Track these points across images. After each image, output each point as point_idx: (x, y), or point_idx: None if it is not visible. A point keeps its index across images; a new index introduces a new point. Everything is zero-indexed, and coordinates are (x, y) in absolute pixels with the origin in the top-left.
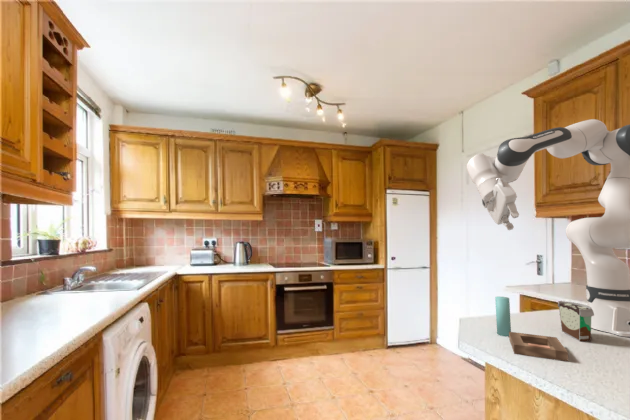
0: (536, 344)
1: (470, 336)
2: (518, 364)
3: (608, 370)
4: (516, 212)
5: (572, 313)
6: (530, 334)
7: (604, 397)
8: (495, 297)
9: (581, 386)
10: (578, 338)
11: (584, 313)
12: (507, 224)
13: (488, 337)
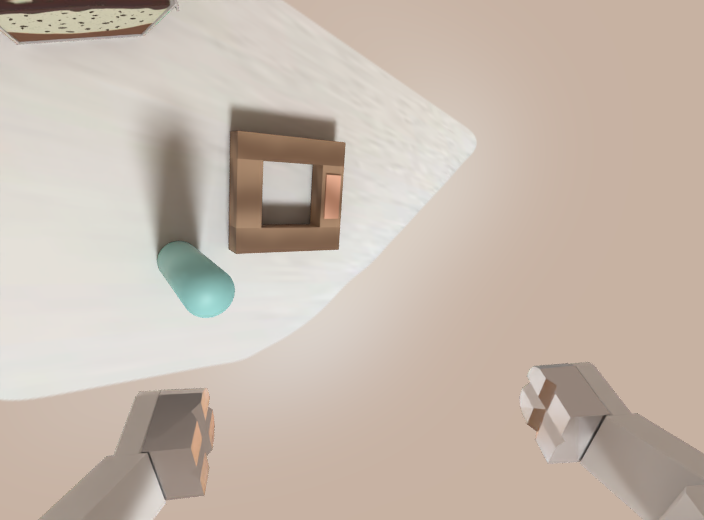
0: (326, 200)
1: (243, 343)
2: (379, 243)
3: (353, 78)
4: (608, 403)
5: (113, 13)
6: (239, 198)
7: (451, 142)
8: (213, 316)
9: (429, 161)
10: (134, 33)
11: None
12: (202, 486)
13: None
